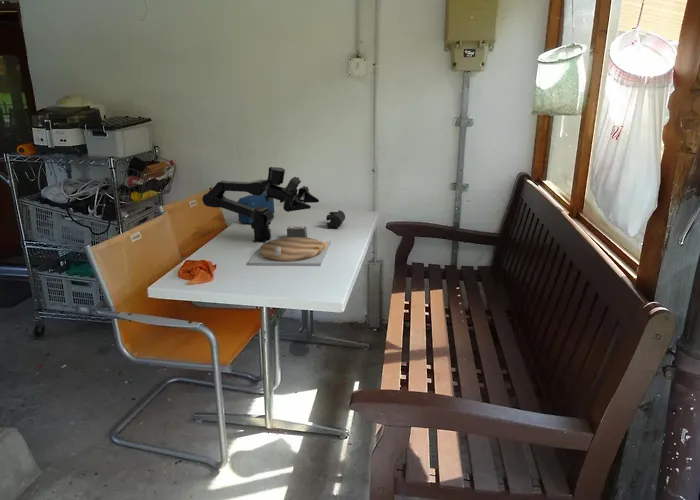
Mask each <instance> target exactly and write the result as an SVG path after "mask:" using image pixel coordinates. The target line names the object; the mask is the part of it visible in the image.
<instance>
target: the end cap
mask: <svg viewBox="0 0 700 500" xmlns="http://www.w3.org/2000/svg"><path fill="white" fill-rule="evenodd" d="M325 218H326V221H329V222H326V227H327V228H326V229H327V230H337V229H339V228H340V227H341V226H342V224H343V223H344V221H345V219H346V214H345V212H344V211H342V210H339V209H338V210H337V211H330V212H328V214H327V215H326V217H325Z"/></svg>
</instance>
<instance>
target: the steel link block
mask: <svg viewBox="0 0 700 500" xmlns="http://www.w3.org/2000/svg"><path fill="white" fill-rule="evenodd" d="M307 229H308V228H307V226H292V225H291V226H288V227H287V228H286V235H287V237H286V238H288V237H306V238H308V233H307V232H308V231H307Z"/></svg>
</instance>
